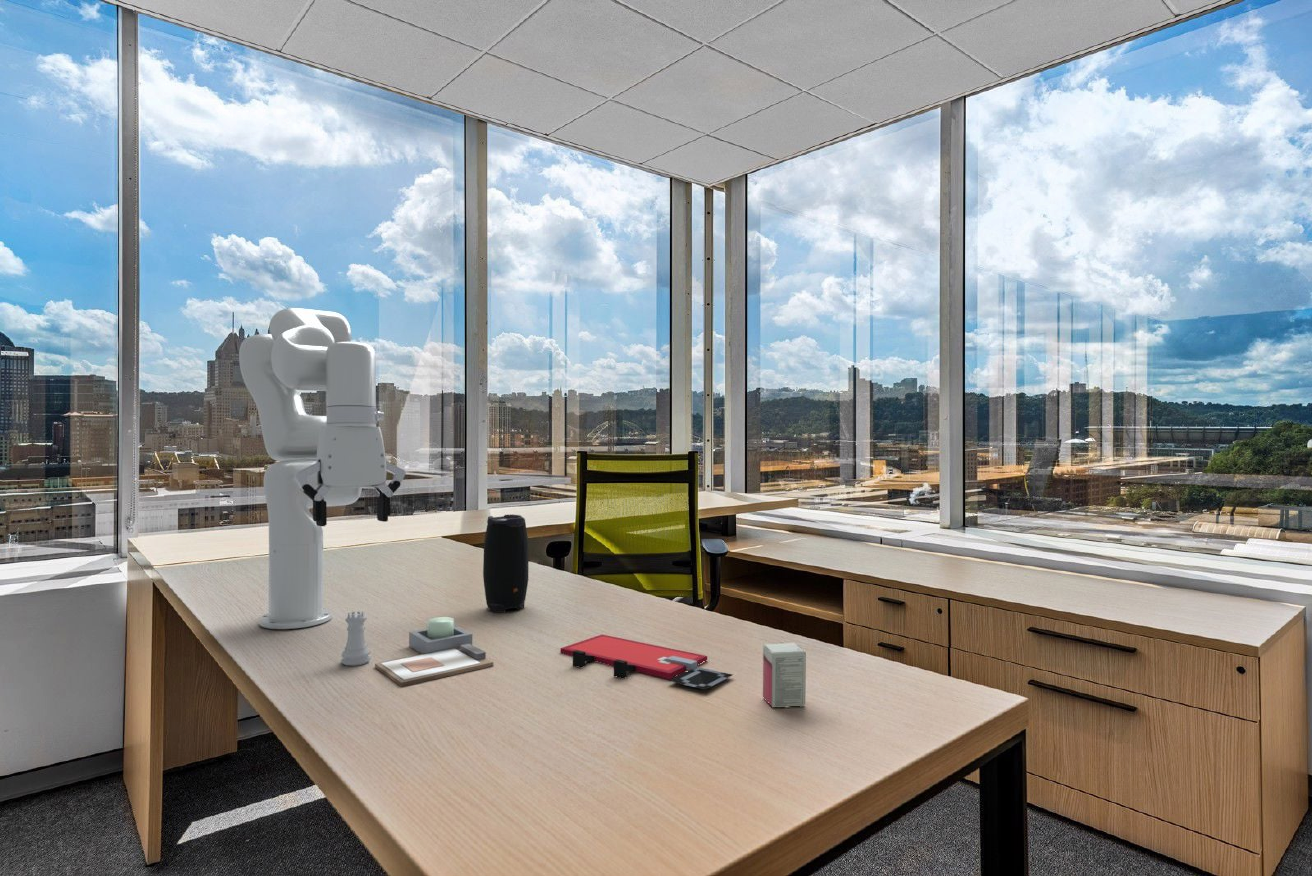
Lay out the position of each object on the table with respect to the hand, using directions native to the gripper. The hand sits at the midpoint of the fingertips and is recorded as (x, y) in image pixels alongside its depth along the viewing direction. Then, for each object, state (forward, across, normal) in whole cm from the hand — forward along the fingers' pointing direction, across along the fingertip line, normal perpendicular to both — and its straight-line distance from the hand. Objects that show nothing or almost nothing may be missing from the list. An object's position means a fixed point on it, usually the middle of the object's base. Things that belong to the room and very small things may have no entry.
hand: (352, 523), depth 117 cm
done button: (+21, -14, +1) cm, 25 cm away
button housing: (+23, -14, +1) cm, 27 cm away
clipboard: (+23, -9, +10) cm, 27 cm away
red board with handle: (+25, -36, +30) cm, 53 cm away
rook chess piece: (+23, 0, 0) cm, 23 cm away
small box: (+26, -41, +55) cm, 73 cm away
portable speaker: (+22, -36, -16) cm, 45 cm away
